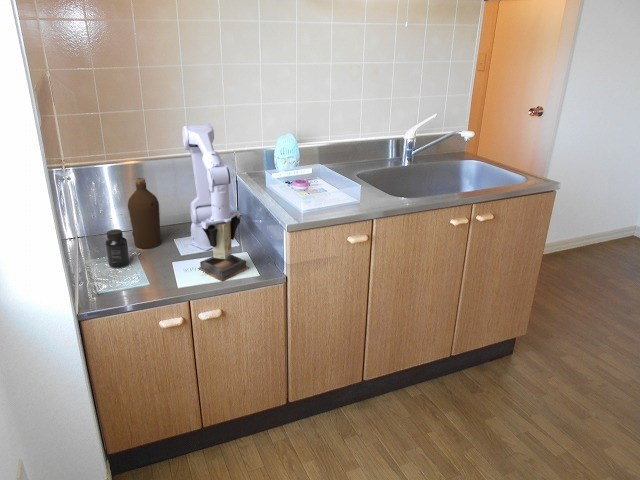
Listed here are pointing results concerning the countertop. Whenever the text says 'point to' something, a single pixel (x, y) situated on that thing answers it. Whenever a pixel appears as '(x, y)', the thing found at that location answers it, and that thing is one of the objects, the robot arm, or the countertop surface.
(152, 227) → the olive oil
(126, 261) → the supplement bottle
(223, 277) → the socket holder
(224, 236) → the skincare box
